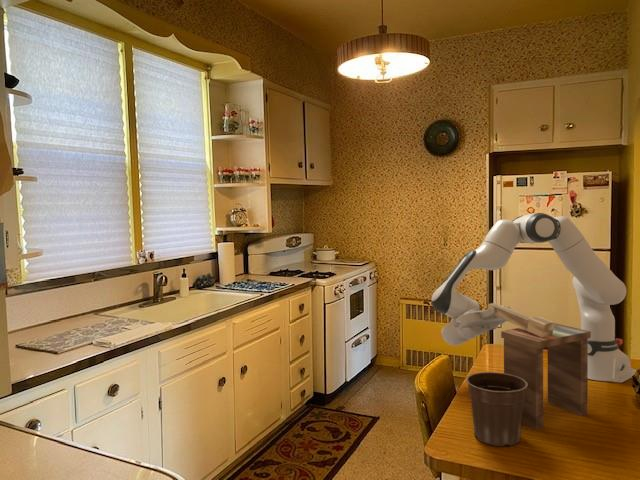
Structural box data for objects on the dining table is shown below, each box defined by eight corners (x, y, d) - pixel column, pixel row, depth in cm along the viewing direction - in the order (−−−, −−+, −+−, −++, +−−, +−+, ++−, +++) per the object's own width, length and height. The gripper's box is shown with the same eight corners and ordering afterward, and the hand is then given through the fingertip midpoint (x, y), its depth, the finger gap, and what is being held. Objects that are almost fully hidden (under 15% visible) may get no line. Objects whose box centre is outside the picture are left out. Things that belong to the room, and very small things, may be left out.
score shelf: (551, 399, 162) (551, 322, 161) (590, 415, 150) (590, 331, 148) (501, 413, 153) (501, 331, 152) (538, 430, 140) (538, 341, 139)
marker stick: (495, 311, 163) (497, 299, 162) (552, 334, 145) (554, 322, 145) (485, 313, 160) (486, 301, 160) (541, 337, 143) (543, 324, 142)
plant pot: (474, 420, 149) (473, 368, 148) (531, 430, 141) (531, 376, 140) (460, 443, 135) (459, 385, 134) (523, 456, 127) (523, 395, 126)
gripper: (447, 317, 166) (471, 303, 155) (492, 311, 175) (519, 297, 164) (453, 335, 164) (478, 322, 152) (499, 328, 172) (526, 314, 161)
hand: (500, 309), depth 158 cm, fingers closed on marker stick, 3 cm apart
